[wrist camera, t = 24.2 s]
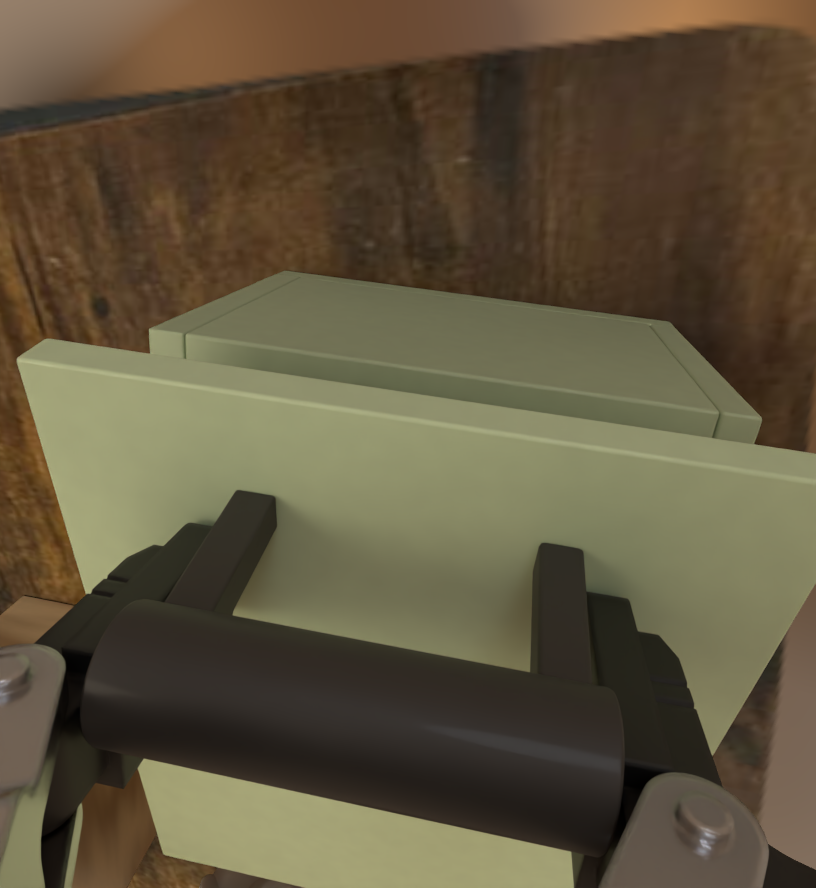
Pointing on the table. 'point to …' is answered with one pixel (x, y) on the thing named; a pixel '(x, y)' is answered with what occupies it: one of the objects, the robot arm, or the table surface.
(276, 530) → the lid
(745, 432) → the chest
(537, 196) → the table surface
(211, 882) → the frog figurine
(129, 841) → the tall wooden pillar
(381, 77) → the table surface
